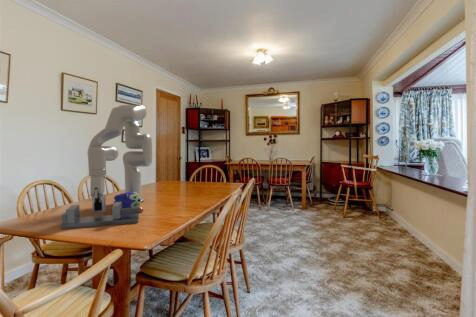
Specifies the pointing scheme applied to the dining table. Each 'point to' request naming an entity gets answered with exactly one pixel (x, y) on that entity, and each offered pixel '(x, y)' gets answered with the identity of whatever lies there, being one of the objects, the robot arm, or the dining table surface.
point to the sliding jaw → (124, 210)
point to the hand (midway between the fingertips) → (99, 208)
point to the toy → (129, 199)
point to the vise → (93, 219)
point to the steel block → (102, 204)
